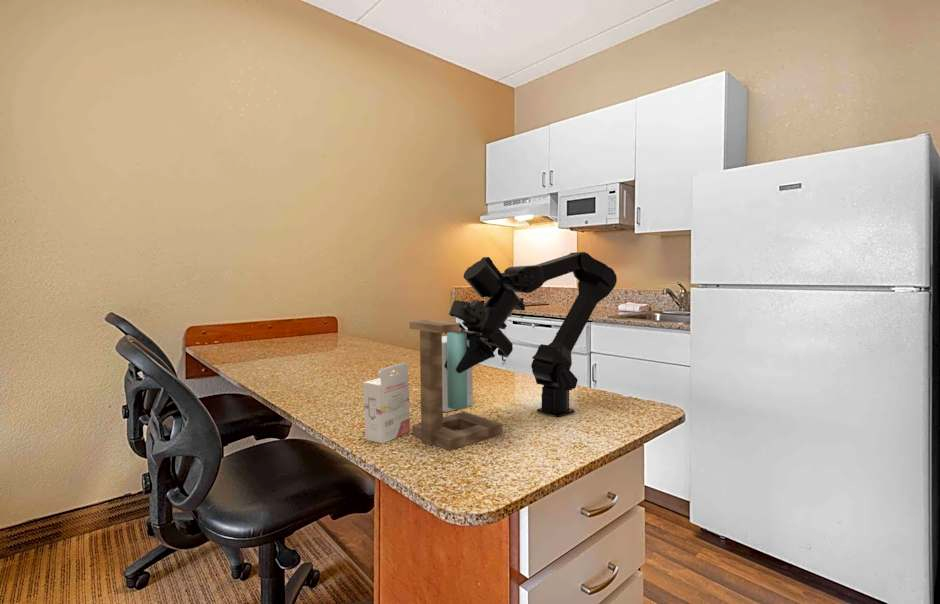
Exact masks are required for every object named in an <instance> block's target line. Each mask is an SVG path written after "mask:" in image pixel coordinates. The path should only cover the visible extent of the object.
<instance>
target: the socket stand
mask: <svg viewBox="0 0 940 604" xmlns="http://www.w3.org/2000/svg"><path fill="white" fill-rule="evenodd" d="M408 322H409V330H416V331H419V354H420V355H419V359H420V362H419V363H420V365H419V367H420V375H419V376H420V423H415V424H412V426H411V427H412V428H411V430H412V432H411V433H412V435H413V436H414V437H416V438H418V439H420V440H421V443H423V444H426V445H427V446H436V447H439V448H441V449H444V450H447V451H448V452H450V451H453V450H454V451H455V450H457V449H459V448H463V447H465V446H468V445H472V444H475V443H478V442H482V441H483V440H484V441H485V440H487V439H491V438H494V437H496V436H499V435H500V436H501V435H502V434H503V424H502V423H501V422H500V423H499V422H497V421H494V420H491V419H488V418H485V417H481V416H478V415H475V414H472V413H470V412H466V411H461V412H457V413H454V414H449V415H446V416H443V415H444V414H443V403H442V336H443V334H445V333H447V332H456V331H459V324H458V323H459V322H456V323H449V322H450V321H439V320H438V321H437V320H430V319H426V320H424V319H423V320H422V319H421V320H413V321H408ZM458 428H459V429H460V430H459V429H458ZM455 429H458V430H455Z"/></svg>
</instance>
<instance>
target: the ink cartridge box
mask: <svg viewBox="0 0 940 604" xmlns="http://www.w3.org/2000/svg"><path fill="white" fill-rule="evenodd" d="M393 370H395V372H396V371H398V373H397V372H396V373H395V374H394V375H390V372H392V371H393ZM408 370H409V369H408V364H407V362H402V363H399V364H395V365H394V364H393V365H391V366H388V367H383V368H380V369H379V371H380V378H378V377H377V378H375V379H372V380H368V381H363V382H362V383H363V407H364V431H365V432H364V433H365V436H364V438H365V441H369V442H374V443H378V444H385V443H388V442H390V441H392V440H394V439H396V438H399V437H401V436H403V435H405V434H407V433H409V432H410V431H411V427H410V426H411V424H410V421H411V420H410V416H411V415H410V383H409V381H410V380H409V379H410V378H409V373H408V372H409V371H408Z"/></svg>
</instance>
